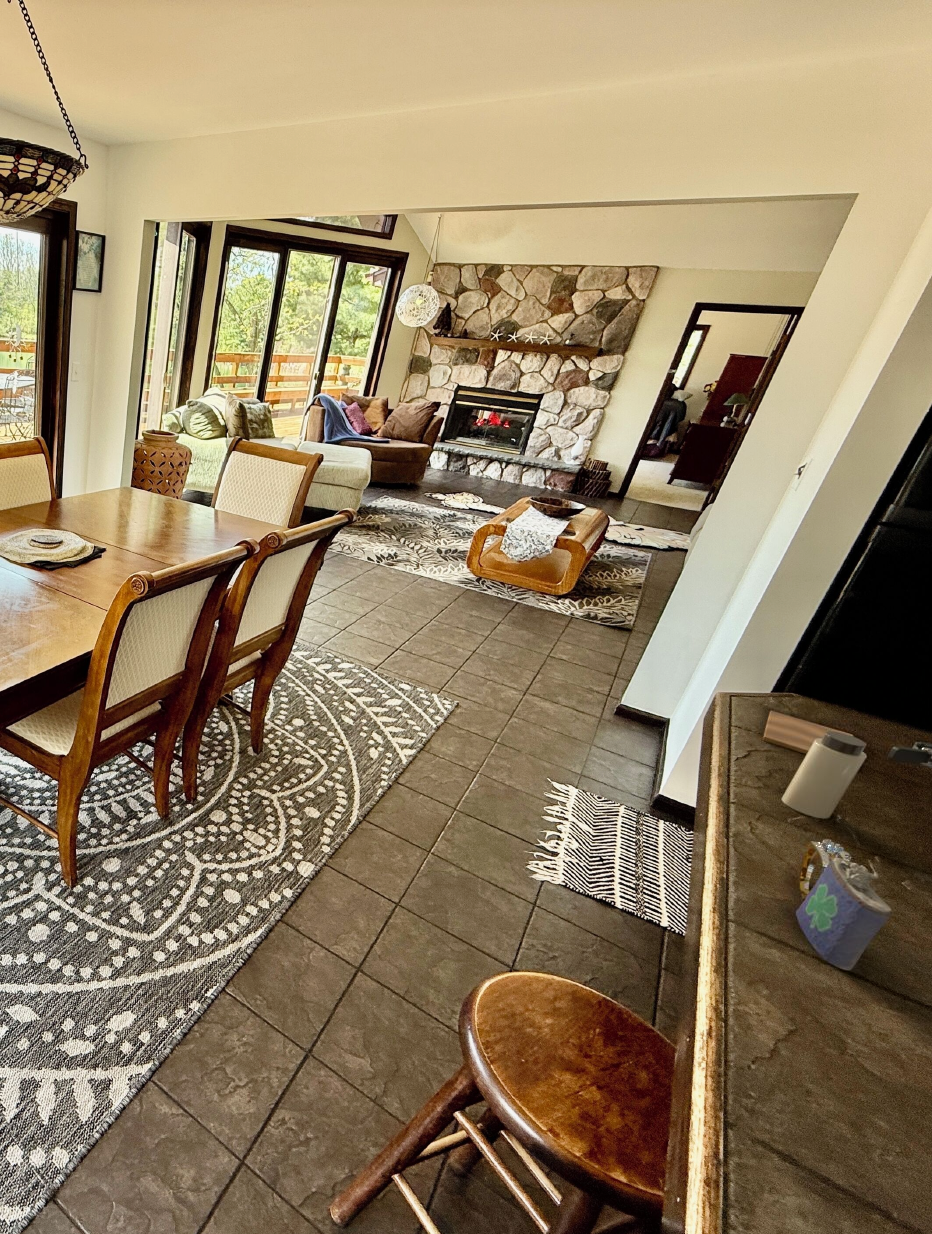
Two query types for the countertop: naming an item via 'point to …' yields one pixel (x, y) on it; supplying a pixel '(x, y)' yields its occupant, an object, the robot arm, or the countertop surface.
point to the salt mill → (825, 774)
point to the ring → (809, 861)
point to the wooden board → (793, 732)
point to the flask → (842, 913)
